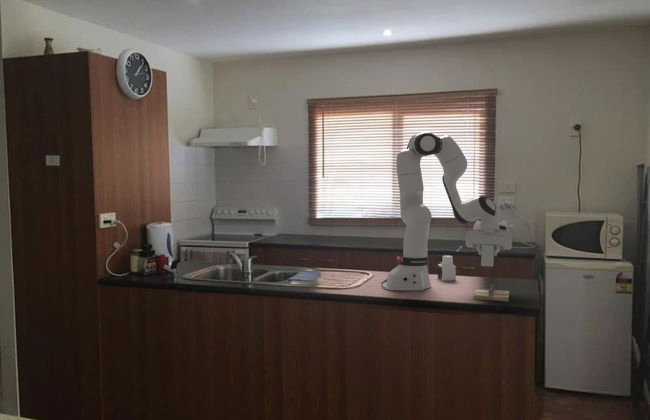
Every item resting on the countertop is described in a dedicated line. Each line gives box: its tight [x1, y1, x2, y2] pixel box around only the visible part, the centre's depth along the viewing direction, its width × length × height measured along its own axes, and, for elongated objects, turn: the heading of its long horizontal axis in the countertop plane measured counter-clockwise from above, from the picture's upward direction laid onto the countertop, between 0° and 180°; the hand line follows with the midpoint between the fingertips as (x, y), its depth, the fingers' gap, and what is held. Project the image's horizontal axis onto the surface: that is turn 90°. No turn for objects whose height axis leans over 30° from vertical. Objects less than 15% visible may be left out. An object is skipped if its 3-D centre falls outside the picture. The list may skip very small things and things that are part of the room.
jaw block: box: [480, 245, 495, 268], centre depth 250 cm, size 5×5×9 cm
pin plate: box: [473, 284, 510, 302], centre depth 238 cm, size 14×14×4 cm
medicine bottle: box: [437, 254, 457, 282], centre depth 278 cm, size 7×7×12 cm
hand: (487, 254), depth 250 cm, fingers closed on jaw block, 5 cm apart
